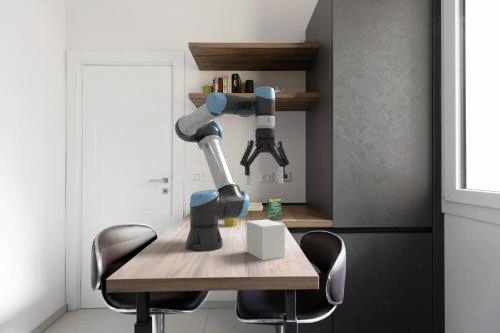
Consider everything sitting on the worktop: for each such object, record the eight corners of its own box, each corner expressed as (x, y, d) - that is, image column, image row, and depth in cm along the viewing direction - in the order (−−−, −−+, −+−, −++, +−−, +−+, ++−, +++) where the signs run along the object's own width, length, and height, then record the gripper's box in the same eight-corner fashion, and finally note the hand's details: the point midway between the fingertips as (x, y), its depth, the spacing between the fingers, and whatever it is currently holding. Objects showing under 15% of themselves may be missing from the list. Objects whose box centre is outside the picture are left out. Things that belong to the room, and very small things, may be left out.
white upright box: (262, 260, 116) (262, 226, 116) (246, 251, 128) (246, 221, 128) (284, 257, 120) (284, 224, 120) (267, 249, 132) (267, 219, 132)
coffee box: (268, 220, 201) (268, 199, 201) (267, 219, 203) (267, 198, 203) (281, 220, 202) (281, 198, 202) (280, 219, 205) (280, 198, 205)
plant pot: (229, 228, 176) (229, 210, 176) (217, 225, 184) (217, 208, 184) (243, 225, 183) (243, 208, 183) (232, 223, 191) (232, 206, 191)
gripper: (239, 125, 115) (239, 185, 115) (297, 128, 127) (298, 183, 127) (231, 127, 122) (231, 184, 122) (287, 130, 133) (287, 182, 133)
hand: (265, 184), depth 124 cm, fingers open, 13 cm apart
